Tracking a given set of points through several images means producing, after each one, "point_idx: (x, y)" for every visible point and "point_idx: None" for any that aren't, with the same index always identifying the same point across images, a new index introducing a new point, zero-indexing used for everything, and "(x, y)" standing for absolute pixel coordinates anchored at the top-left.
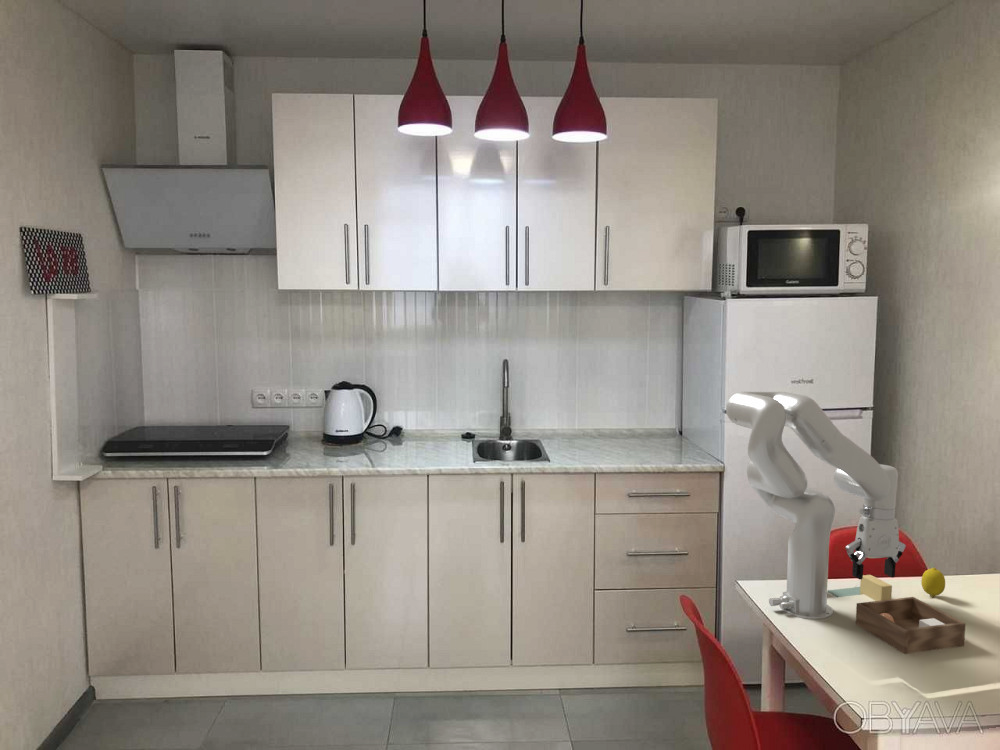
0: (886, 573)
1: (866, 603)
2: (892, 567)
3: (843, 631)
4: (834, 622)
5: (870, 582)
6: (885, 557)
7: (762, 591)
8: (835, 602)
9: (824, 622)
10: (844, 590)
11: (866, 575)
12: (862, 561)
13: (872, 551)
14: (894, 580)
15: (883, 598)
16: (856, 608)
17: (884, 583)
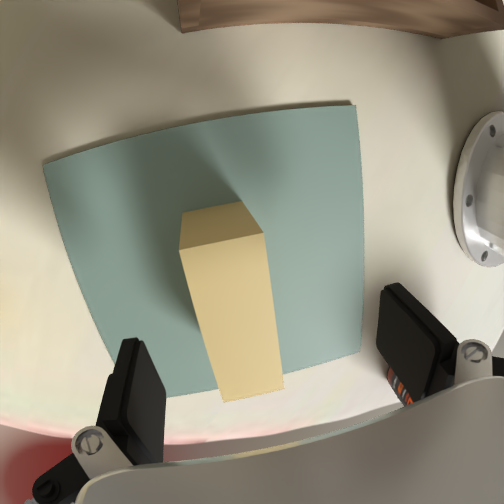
0: (158, 382)
1: (484, 5)
2: (132, 391)
3: (475, 33)
4: (476, 94)
5: (273, 323)
6: (251, 451)
7: (490, 325)
8: (396, 255)
9: (494, 104)
10: (304, 355)
11: (252, 393)
12: (460, 364)
13: (501, 435)
14: (76, 423)
15: (233, 212)
16: (493, 29)
17: (211, 288)
